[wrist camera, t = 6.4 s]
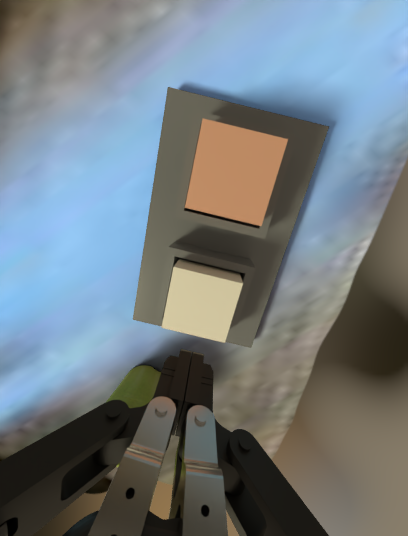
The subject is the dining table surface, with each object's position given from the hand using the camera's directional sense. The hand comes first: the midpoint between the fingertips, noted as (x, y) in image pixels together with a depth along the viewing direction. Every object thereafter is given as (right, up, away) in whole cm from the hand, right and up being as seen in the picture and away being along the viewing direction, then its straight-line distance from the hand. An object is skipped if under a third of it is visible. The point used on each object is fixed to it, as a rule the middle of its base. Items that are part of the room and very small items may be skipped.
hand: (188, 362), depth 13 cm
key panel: (+2, +10, +12) cm, 16 cm away
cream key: (+1, +3, +10) cm, 11 cm away
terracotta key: (+4, +14, +6) cm, 16 cm away
